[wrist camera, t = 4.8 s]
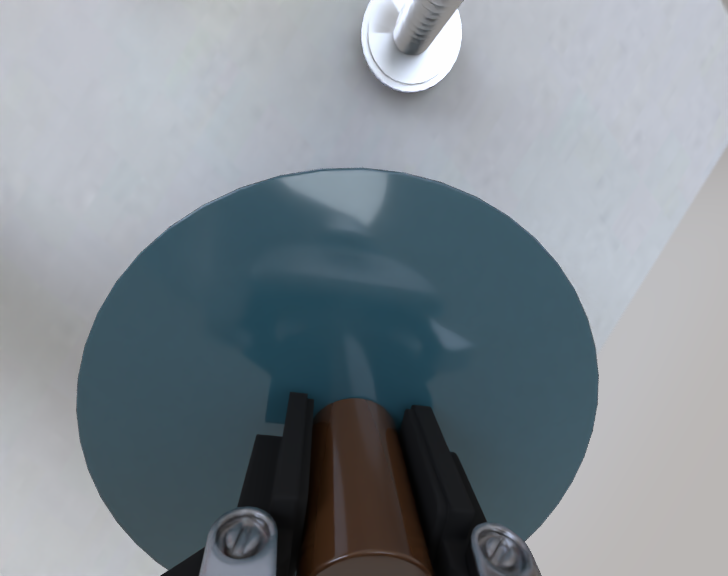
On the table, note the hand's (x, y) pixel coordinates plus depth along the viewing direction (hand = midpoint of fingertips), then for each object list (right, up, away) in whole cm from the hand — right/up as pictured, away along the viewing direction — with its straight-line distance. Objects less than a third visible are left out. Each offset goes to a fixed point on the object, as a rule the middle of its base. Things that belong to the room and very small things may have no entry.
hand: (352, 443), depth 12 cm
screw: (+2, +17, +9) cm, 20 cm away
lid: (0, 0, +1) cm, 1 cm away
